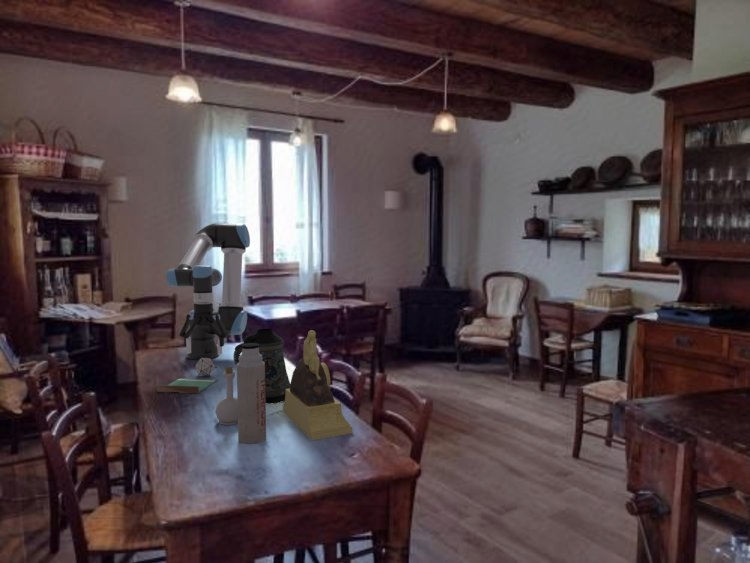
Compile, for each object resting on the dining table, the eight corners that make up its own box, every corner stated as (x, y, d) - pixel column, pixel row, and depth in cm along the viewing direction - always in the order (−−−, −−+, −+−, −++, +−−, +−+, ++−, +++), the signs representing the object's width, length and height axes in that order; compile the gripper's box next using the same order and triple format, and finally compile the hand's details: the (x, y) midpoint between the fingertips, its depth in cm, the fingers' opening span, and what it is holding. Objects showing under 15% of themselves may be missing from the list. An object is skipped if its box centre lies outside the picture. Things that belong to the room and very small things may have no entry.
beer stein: (301, 397, 203) (300, 329, 200) (256, 409, 189) (255, 336, 186) (273, 388, 214) (272, 323, 212) (229, 399, 200) (227, 330, 198)
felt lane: (180, 379, 227) (180, 377, 227) (217, 380, 225) (217, 379, 225) (158, 390, 210) (158, 389, 210) (198, 392, 208) (198, 391, 208)
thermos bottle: (271, 436, 164) (270, 343, 161) (252, 445, 157) (250, 348, 155) (252, 431, 168) (250, 340, 165) (232, 440, 161) (230, 345, 159)
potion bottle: (219, 428, 171) (218, 370, 169) (213, 419, 179) (212, 364, 177) (247, 423, 175) (246, 367, 173) (240, 415, 183) (239, 361, 181)
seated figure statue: (352, 433, 167) (352, 335, 164) (311, 440, 161) (310, 338, 158) (319, 406, 192) (318, 320, 189) (283, 412, 186) (281, 323, 184)
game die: (209, 383, 234) (224, 363, 235) (202, 381, 225) (216, 360, 227) (193, 372, 236) (208, 352, 237) (185, 369, 227) (200, 349, 229)
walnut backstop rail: (158, 390, 210) (158, 384, 210) (198, 392, 208) (198, 386, 208) (157, 391, 209) (156, 385, 209) (197, 393, 207) (197, 387, 207)
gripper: (170, 303, 227) (171, 354, 228) (228, 304, 223) (229, 356, 225) (179, 301, 234) (180, 351, 236) (235, 302, 231) (236, 352, 232)
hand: (204, 353), depth 230 cm, fingers open, 13 cm apart
